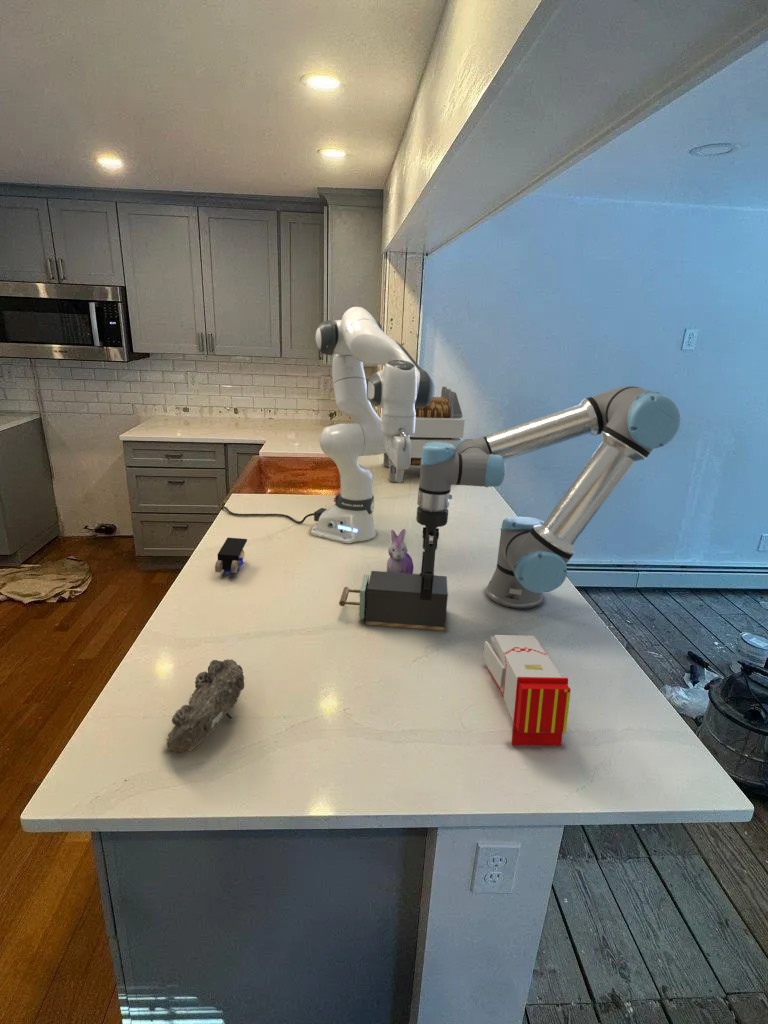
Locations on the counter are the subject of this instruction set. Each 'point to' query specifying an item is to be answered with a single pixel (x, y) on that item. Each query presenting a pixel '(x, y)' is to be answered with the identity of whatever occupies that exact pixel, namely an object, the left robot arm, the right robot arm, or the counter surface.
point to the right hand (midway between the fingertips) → (425, 586)
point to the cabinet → (405, 601)
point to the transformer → (434, 426)
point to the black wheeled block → (230, 556)
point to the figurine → (399, 555)
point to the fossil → (206, 705)
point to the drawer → (362, 597)
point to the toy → (529, 689)
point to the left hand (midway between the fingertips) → (395, 476)
